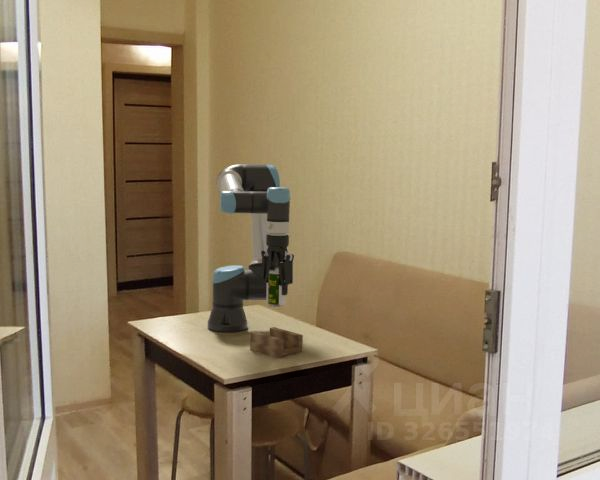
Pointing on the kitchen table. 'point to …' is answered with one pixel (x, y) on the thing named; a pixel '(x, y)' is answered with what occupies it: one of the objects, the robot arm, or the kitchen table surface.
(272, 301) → the beer can
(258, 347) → the slot block
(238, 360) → the kitchen table surface
